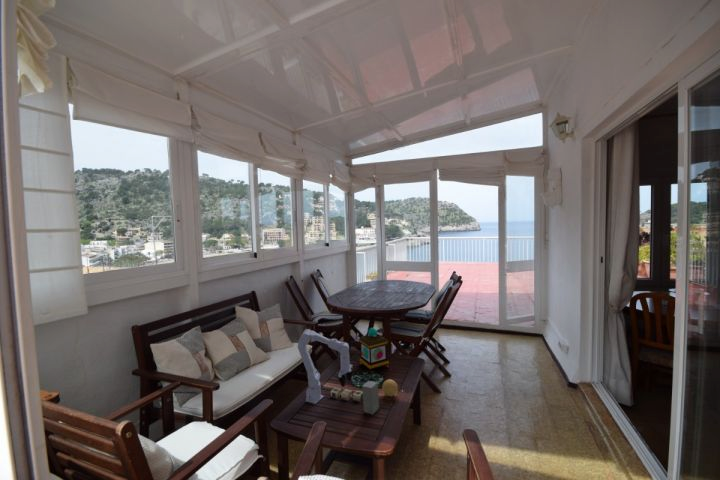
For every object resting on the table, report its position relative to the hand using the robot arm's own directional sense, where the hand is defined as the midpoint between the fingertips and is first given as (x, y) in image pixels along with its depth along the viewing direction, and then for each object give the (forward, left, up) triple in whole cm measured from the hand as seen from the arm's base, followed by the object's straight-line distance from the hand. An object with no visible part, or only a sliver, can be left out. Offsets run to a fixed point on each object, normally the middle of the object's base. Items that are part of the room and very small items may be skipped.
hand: (346, 383), depth 201 cm
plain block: (0, 0, -10) cm, 10 cm away
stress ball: (+14, -24, -10) cm, 30 cm away
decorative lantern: (+46, +3, -10) cm, 47 cm away
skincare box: (-5, -20, -10) cm, 23 cm away
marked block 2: (+2, -7, -10) cm, 12 cm away
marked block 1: (-1, +8, -10) cm, 12 cm away
